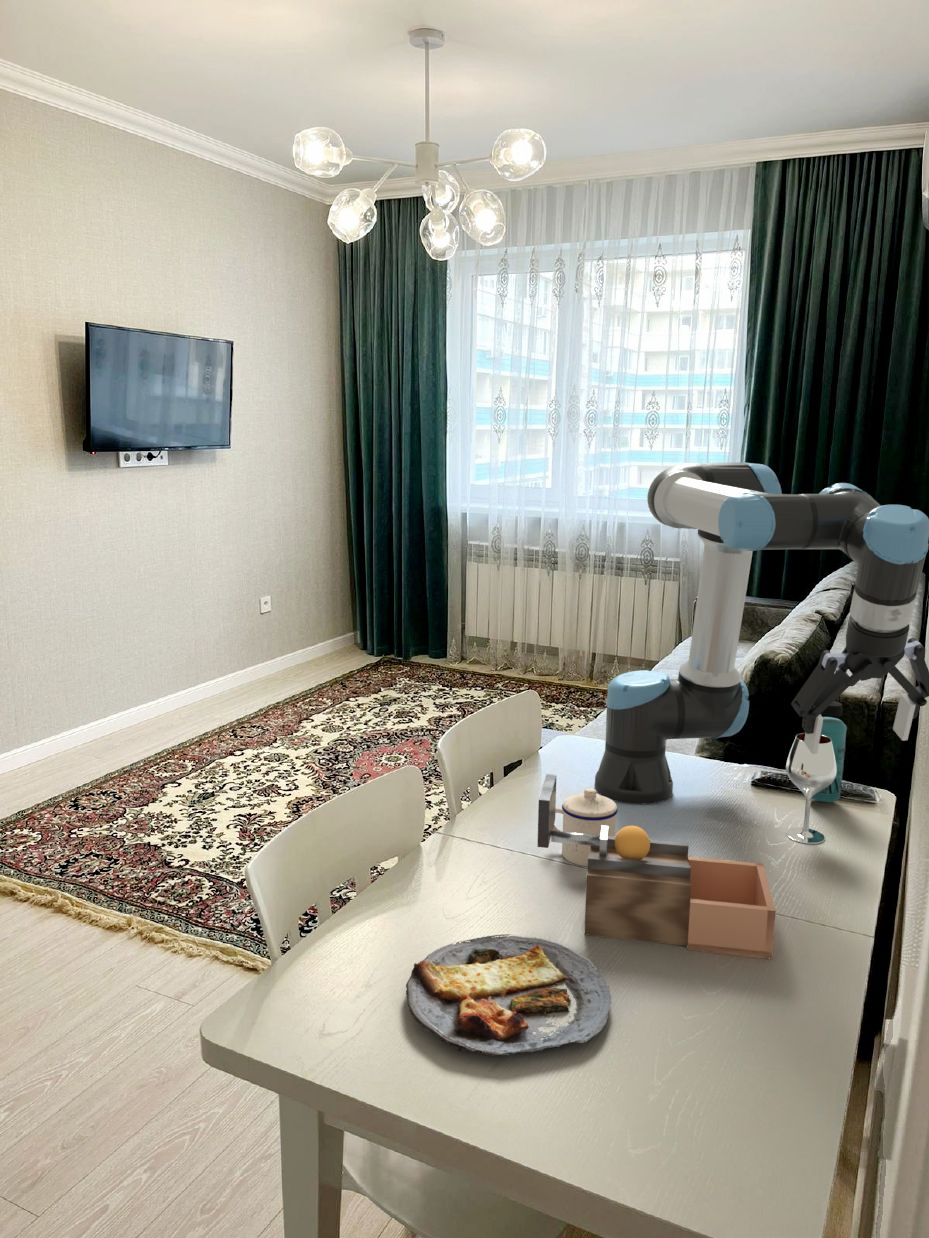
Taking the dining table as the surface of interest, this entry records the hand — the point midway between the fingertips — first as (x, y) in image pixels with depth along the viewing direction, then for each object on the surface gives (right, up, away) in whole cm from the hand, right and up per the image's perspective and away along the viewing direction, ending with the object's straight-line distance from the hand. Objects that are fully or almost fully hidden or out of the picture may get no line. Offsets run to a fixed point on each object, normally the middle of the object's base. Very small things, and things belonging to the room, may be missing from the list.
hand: (855, 741), depth 134 cm
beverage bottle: (+11, -18, +41) cm, 46 cm away
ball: (-33, -14, -3) cm, 36 cm away
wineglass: (+3, -20, +27) cm, 34 cm away
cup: (-20, -26, -4) cm, 33 cm away
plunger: (-41, -16, -1) cm, 44 cm away
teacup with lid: (-38, -22, +19) cm, 48 cm away
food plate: (-52, -30, -21) cm, 63 cm away
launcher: (-32, -25, -1) cm, 41 cm away
